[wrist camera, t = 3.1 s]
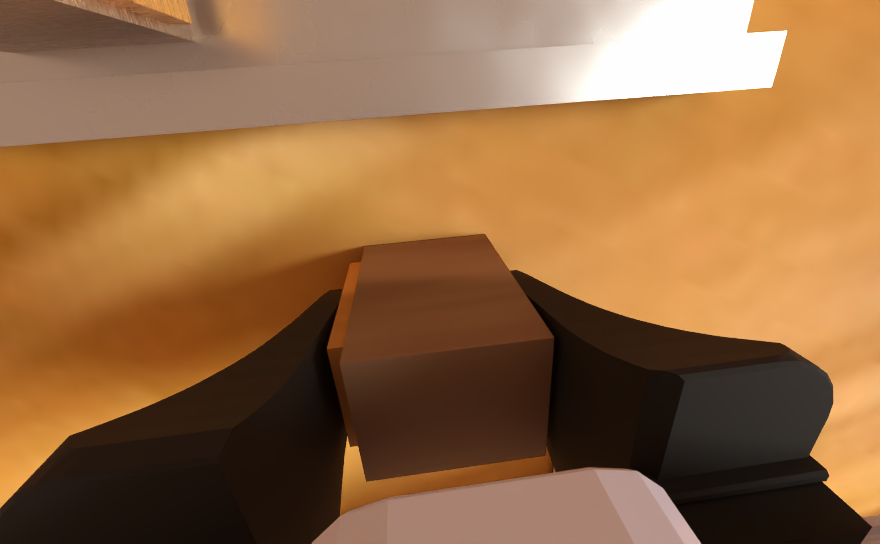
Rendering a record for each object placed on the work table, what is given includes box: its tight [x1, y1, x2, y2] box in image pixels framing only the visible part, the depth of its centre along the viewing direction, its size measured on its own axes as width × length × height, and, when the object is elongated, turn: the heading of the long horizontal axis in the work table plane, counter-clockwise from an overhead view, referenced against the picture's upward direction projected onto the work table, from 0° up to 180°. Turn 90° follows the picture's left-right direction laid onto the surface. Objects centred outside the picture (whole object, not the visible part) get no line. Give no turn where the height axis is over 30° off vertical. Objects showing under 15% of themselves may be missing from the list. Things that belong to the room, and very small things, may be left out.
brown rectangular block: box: [327, 234, 554, 482], centre depth 10 cm, size 3×4×6 cm
